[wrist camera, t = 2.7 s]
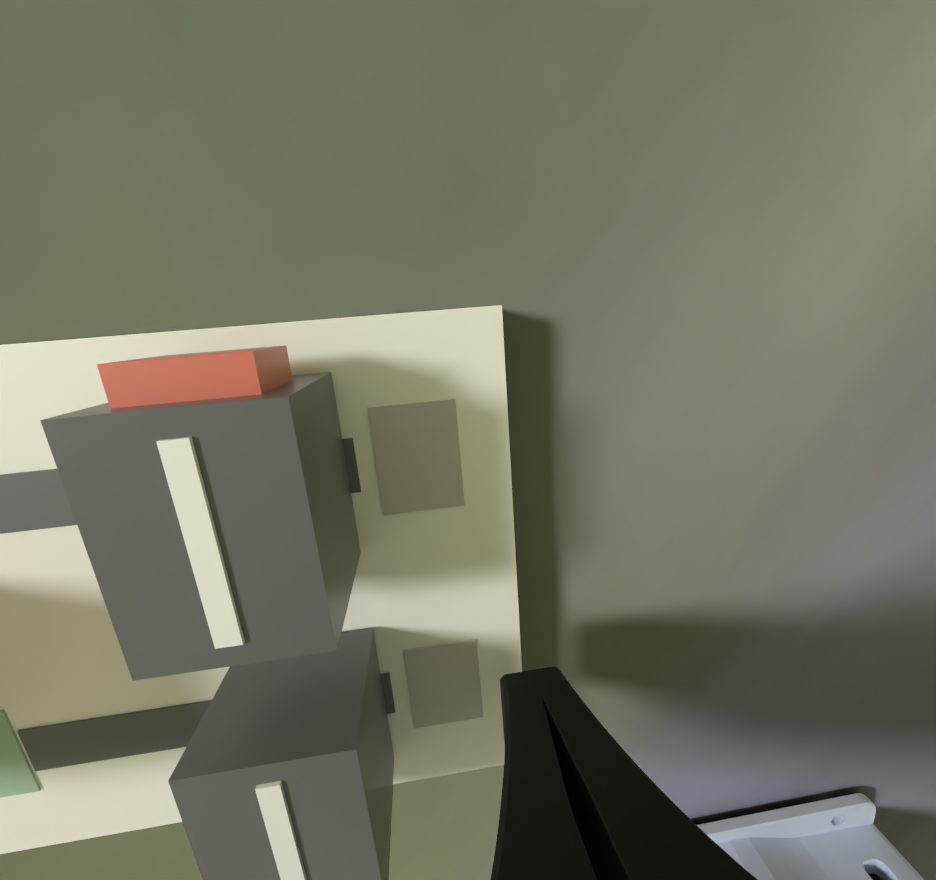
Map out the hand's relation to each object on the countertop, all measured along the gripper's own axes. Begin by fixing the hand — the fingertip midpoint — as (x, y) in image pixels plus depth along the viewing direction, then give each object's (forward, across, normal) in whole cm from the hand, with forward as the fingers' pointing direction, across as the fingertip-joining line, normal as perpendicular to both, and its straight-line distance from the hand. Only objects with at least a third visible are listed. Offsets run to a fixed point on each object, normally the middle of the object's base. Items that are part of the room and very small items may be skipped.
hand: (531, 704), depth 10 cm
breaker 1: (+1, +5, -6) cm, 8 cm away
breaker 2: (+1, +5, 0) cm, 5 cm away
